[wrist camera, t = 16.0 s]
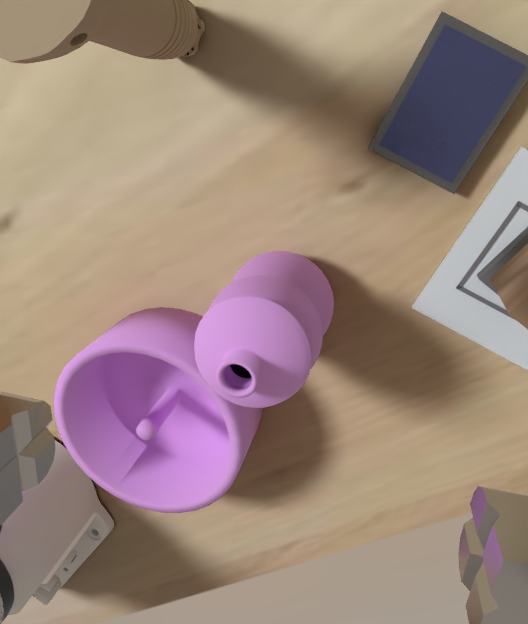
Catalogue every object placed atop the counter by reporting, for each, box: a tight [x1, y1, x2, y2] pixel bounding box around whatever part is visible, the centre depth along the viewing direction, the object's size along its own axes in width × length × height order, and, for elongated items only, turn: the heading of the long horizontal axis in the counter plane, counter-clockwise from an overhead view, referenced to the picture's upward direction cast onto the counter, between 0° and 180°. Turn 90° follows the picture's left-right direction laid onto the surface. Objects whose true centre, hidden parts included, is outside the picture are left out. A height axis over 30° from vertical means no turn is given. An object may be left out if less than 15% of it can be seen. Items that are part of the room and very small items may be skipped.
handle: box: [0, 0, 205, 63], centre depth 25 cm, size 5×6×15 cm
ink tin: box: [368, 12, 528, 194], centre depth 29 cm, size 8×6×1 cm
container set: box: [54, 251, 334, 513], centre depth 35 cm, size 25×15×13 cm, turn 136°
